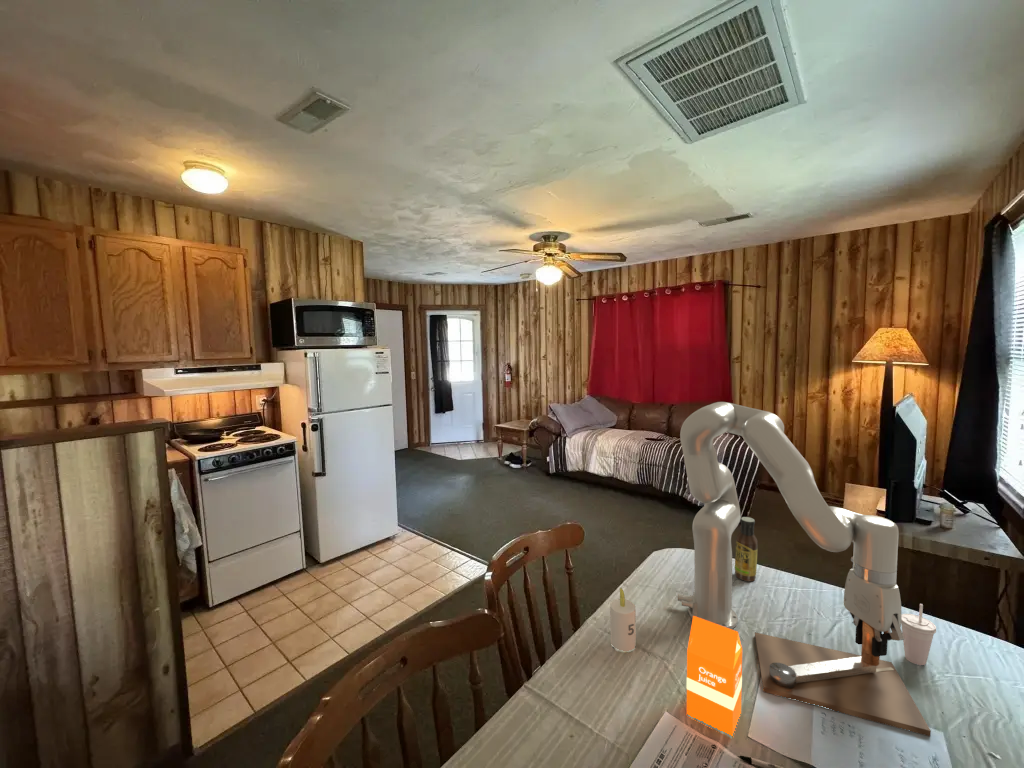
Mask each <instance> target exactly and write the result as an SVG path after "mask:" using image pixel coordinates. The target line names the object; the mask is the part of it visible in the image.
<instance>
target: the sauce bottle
mask: <svg viewBox="0 0 1024 768" xmlns="http://www.w3.org/2000/svg"><path fill="white" fill-rule="evenodd" d="M755 524H756V521H755V519H754V518H752V517H750V516H742V517H741V518H740V532H739V533H738V534H737V535H736V540H735V556H734V575H735V577H737V578H738V579H739V580H742V581H744V582H754V581H755V580H756V578H757V577H756V576H757V570H758V569H757V568H758V567H757V566H758V565H757V563H758V550H759V549H758V543H759V542H758V539H757V537H756V534H755Z"/></svg>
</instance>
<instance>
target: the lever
mask: <svg viewBox="0 0 1024 768" xmlns="http://www.w3.org/2000/svg"><path fill="white" fill-rule="evenodd" d="M873 638H875V629H874V628H873V627H872V626H870V625H868V624H867V623H865V622H864V621H863V627H862V644H861V651H860V652H861V653H860V654H861V657H853V658H846V659H838V660H831V661H823V662H816V663H808V664H800V665H793V666H787V665H785V664H782V663H772V664H770V671H769V676H770V678H771V680H772V681H773V682H774V683H776V684H777V685H779V686H782V687H785V688H793V687H795V685H796V683H801V682H808V681H815V680H823V679H830V678H837V677H844V676H852V675H859V674H866V673H873V672H876V666H878V665H879V660H881V659H880V657H881V656H877V657H875V656H873V655H872V639H873Z"/></svg>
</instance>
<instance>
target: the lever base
mask: <svg viewBox="0 0 1024 768" xmlns="http://www.w3.org/2000/svg"><path fill="white" fill-rule="evenodd" d="M754 640H755V641H754V642H755V646H756V654H757V659H758V666H759V671H760V678H761V684H762V692H763V693H767V694H770V695H774V696H778V697H781V696H782V697H781V698H784V697H786V698H785V699H788V698H791V699H790V700H792V699H796V700H799V701H803V702H807V703H810V704H815V705H819V706H823V707H826V708H829V709H832V710H831V711H833V710H834V712H837V711H839V712H838V713H840V712H841V714H844V713H845V714H844V715H848V716H852V717H856V718H860V719H863V720H867V721H871V722H875V723H878V724H882V725H886V726H889V727H893V728H897V729H900V728H902V729H901V730H904V729H906V730H905V731H908V730H910V731H909V732H911V731H912V733H916V734H920V735H923V736H927V737H931V734H932V733H931V732H932V731H931V728H930V727H929V725H928V723H927V722H926V720H925V718H924V716H923V715H922V713H921V711H920V709H919V708H918V706H917V704H916V703H915V700H914V699H913V697H912V695H911V694H910V692H909V690H908V689H907V686H906V685H905V683H904V681H903V680H902V677H901V676H900V674H899V673H898V671H897V669H896V667H895V666H894V665H895V664H894V663H893V662H892V661H888V660H882V659H879V665H878V666H876V672H873V673H866V674H859V675H852V676H844V677H837V678H830V679H823V680H815V681H808V682H801V683H796V685H795V687H793V688H785V687H782V686H779V685H777V684H776V683H774V682H773V681H772V680H771V678H770V676H769V671H770V664H772V663H782V664H785V665H787V666H793V665H800V664H808V663H816V662H823V661H831V660H838V659H846V658H853V657H861V655H860V654H856V653H852V652H851V653H850V652H846V651H843V650H842V651H841V650H836V649H833V648H828V647H824V646H819V645H814V644H809V643H806V642H802V641H801V642H800V641H795V640H792V639H788V638H787V639H786V638H782V637H777V636H773V635H768V634H764V633H758V632H754ZM796 700H795V701H796ZM799 701H798V702H799ZM803 702H802V703H803ZM807 703H806V704H807ZM810 704H809V705H810ZM829 709H828V710H829Z"/></svg>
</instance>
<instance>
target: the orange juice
mask: <svg viewBox="0 0 1024 768" xmlns="http://www.w3.org/2000/svg"><path fill="white" fill-rule="evenodd" d="M691 620H692V621H691V627H690V632H689V637H688V643H687V649H686V715H687V714H688V715H690V716H691V717H693V718H696V719H698V720H700V721H703V722H704V723H706V724H708V725H711V726H712V727H714V728H717V729H718V730H720V731H723V732H725V733H727V734H729V735H731V736H733V733H734V731H735V732H736V730H735V728H736V729H737V727H736V725H737V726H738V724H737V722H738V723H739V721H738V719H739V720H740V718H739V717H741V715H742V687H743V675H742V674H743V646H742V644H741V639H740V634H739V631H737V630H734V629H733V628H732V629H729V628H726V627H723V626H721V625H718V624H715V623H712V622H710V621H707V620H704V619H701V618H698V617H696V616H693V619H691ZM740 714H741V715H740ZM734 734H735V733H734ZM733 737H734V736H733Z"/></svg>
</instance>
